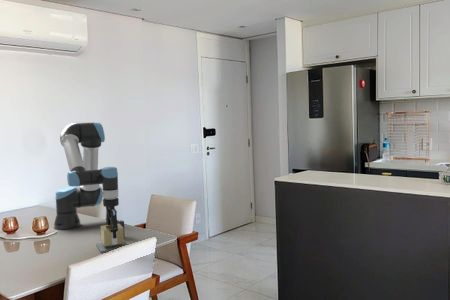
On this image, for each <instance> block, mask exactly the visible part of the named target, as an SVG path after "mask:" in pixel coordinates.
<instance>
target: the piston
mask: <svg viewBox="0 0 450 300" xmlns="http://www.w3.org/2000/svg"><path fill="white" fill-rule="evenodd" d="M95 245H96V247H97V249H98V251H99V252H100V254H104V253H105V252H106V253H109V252H108V251H111V250H114V249H117V248H119V247H122V246H125V245H129V244H128V243H127V242H126V241H125V240H124V244H117V245H110V246H104V245H103V243H102V242H98V243H95Z"/></svg>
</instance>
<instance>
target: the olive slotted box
mask: <svg viewBox="0 0 450 300" xmlns="http://www.w3.org/2000/svg"><path fill="white" fill-rule="evenodd" d="M117 225H118V231H117V244H124V241H125V239H124V238H125V236H124V234H125V230H124V231H123V227H122V226H121V225H120V224H117ZM110 231H112V229H111V225H107V224H105V225H100V243H103V245H104V246H110V245H112V241H111V232H110ZM117 244H115V245H117Z"/></svg>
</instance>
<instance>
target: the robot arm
mask: <svg viewBox="0 0 450 300" xmlns="http://www.w3.org/2000/svg"><path fill="white" fill-rule="evenodd" d="M105 139H106V136H105V131H104V127H103V125H102V123H100V122H94V121H93V122H72V123H70V124H68V125H66V126H65V127H64V128H63V130H62V131H61V133H60V136H59V141H60V144H61V146H62V147H63V149H64V153H65V158H66V161H67V165H68V168H69V169H68V170H69V171H68V172H67V175H66V178H67V180H66V181H67V185H68V186H67V187H62V188H59V189H57V190H56V192H55V206H56V207H55V209H56V210H55V211H56V216H55V220H54V222H53V228H54V229H55V228H56V229H55V230H71V229H75V228H78V227H80V226H81V220H80V216H79V214H78V208H80V209H82V208H90V207H97V206H99V205H101V203H102V205H103V207H105V214H106V215H105V217H106V218H105V219H106V220H105V225H111V229H112V231H110V232H111V241H112V245H115V244H117V231H118V225H117V220H118V216H117V213H118V212H117V209H116V208H115V207H118V206H119V179H118V178H119V177H118V175H119V174H118V173H119V172H118V168H117V167H116V166H105V167H102V168H100V169H99V149H100V148H101V146H102V143H105ZM79 144H80V146H81V147H82V148H83V152H82V153H81V150H80V146H79ZM82 154H83V156H82ZM100 185H102V186H100ZM76 187H79V188H76Z"/></svg>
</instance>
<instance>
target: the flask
mask: <svg viewBox="0 0 450 300" xmlns="http://www.w3.org/2000/svg"><path fill="white" fill-rule="evenodd" d="M117 224H120V225H121V226H122V227H123V231H124V232H125V221H124V220H120V219H119V220H118V219H117ZM124 237H125V233H124Z"/></svg>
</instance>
